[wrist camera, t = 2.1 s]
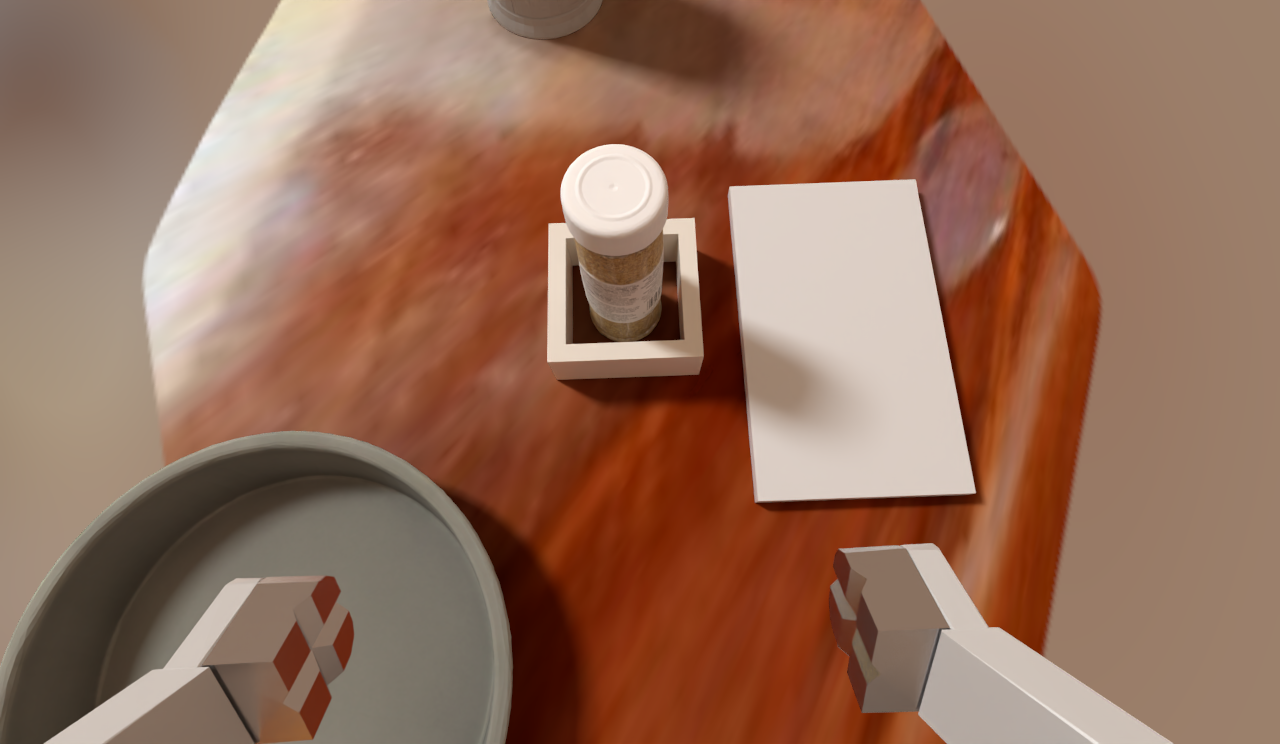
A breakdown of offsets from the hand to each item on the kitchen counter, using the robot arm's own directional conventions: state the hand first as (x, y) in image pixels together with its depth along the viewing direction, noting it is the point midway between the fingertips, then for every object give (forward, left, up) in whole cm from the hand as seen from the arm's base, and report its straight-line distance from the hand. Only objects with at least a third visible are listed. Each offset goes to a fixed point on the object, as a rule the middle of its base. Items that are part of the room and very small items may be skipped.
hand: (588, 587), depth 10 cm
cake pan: (-5, +18, -25) cm, 31 cm away
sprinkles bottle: (+15, 0, -25) cm, 29 cm away
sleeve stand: (+15, 0, -25) cm, 29 cm away
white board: (+13, -13, -25) cm, 31 cm away
